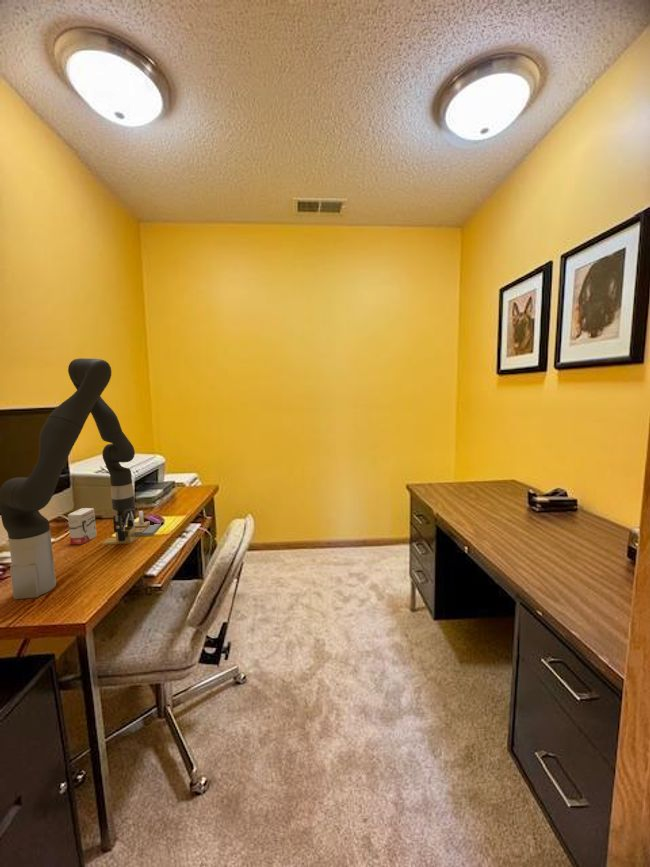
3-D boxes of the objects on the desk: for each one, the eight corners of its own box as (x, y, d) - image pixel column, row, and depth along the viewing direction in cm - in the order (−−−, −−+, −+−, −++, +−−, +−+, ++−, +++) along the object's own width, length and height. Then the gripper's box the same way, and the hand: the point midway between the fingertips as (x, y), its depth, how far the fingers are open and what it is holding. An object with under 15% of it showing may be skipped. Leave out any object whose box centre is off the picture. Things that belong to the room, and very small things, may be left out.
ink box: (82, 544, 136) (79, 514, 134) (70, 545, 136) (66, 514, 135) (97, 535, 144) (94, 507, 143) (85, 535, 144) (82, 507, 143)
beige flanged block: (135, 537, 141) (134, 525, 141) (130, 543, 136) (129, 530, 136) (108, 539, 140) (107, 527, 139) (102, 545, 135) (101, 532, 134)
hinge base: (153, 535, 144) (151, 515, 143) (118, 537, 142) (116, 518, 141) (163, 522, 157) (162, 505, 156) (132, 525, 156) (130, 507, 155)
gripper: (125, 500, 130) (129, 543, 132) (140, 489, 144) (143, 528, 146) (103, 501, 129) (107, 545, 131) (120, 491, 143) (124, 530, 145)
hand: (126, 536), depth 138 cm, fingers open, 8 cm apart
